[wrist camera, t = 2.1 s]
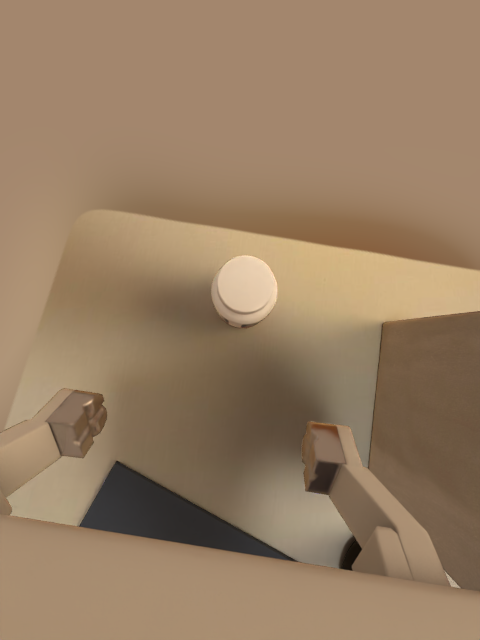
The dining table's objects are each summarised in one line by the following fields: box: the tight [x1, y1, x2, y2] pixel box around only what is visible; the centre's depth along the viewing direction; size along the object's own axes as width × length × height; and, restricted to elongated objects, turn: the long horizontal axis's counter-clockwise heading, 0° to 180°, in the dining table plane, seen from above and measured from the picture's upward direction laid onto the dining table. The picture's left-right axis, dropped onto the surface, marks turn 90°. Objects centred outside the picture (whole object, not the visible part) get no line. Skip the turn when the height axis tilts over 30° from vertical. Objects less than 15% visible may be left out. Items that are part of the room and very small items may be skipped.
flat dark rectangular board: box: [79, 461, 297, 562], centre depth 25 cm, size 20×14×1 cm
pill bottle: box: [211, 255, 278, 328], centre depth 23 cm, size 5×5×9 cm
